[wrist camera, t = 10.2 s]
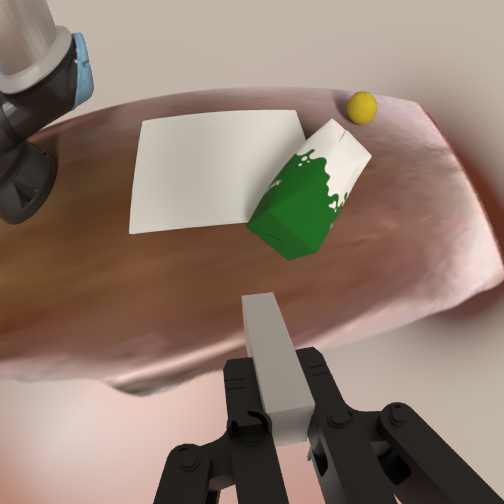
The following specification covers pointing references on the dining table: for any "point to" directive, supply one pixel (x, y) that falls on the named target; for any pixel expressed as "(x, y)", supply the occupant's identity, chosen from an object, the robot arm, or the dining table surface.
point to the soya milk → (309, 192)
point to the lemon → (361, 107)
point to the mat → (209, 167)
